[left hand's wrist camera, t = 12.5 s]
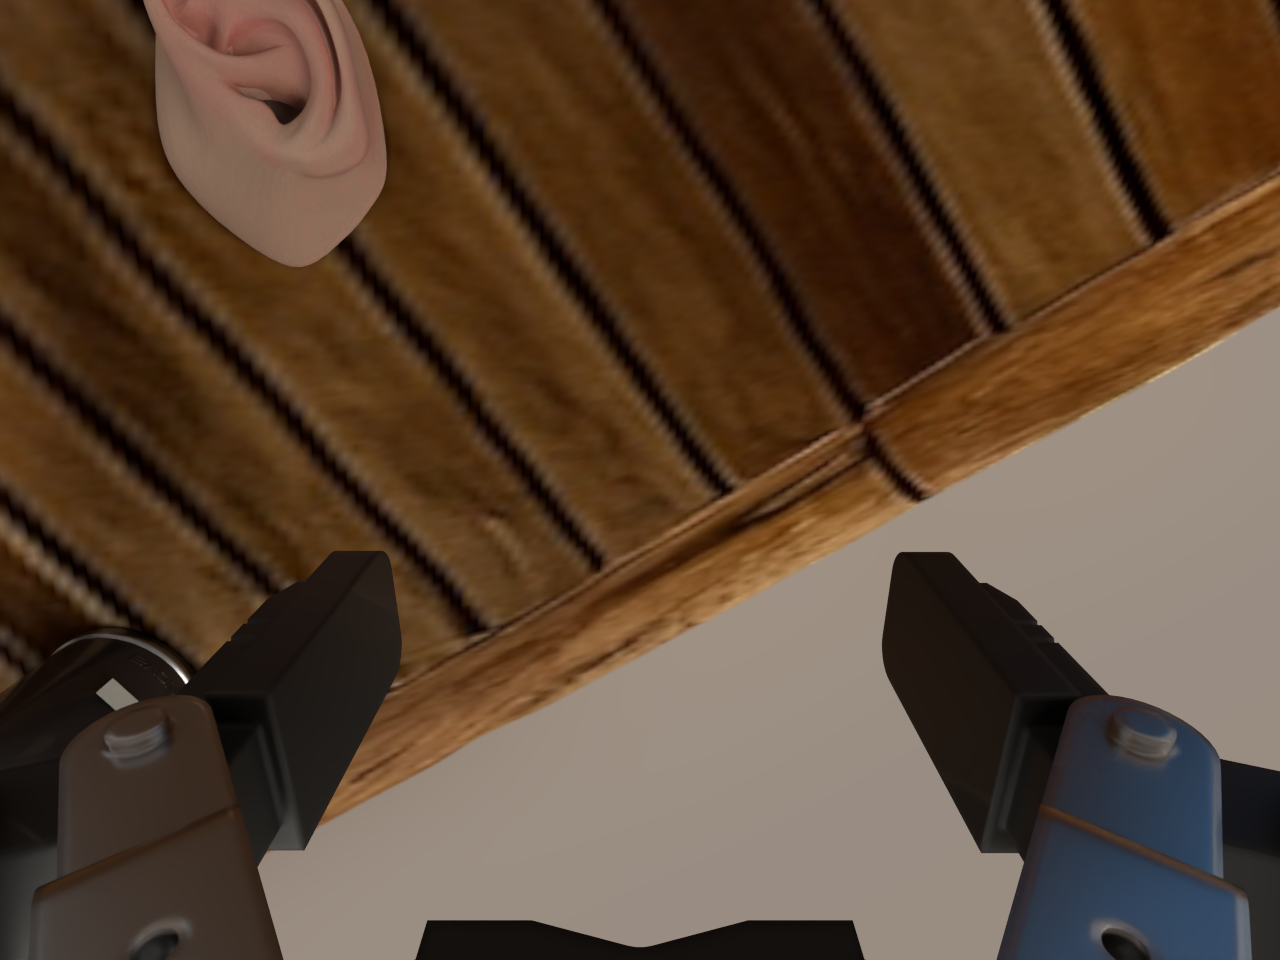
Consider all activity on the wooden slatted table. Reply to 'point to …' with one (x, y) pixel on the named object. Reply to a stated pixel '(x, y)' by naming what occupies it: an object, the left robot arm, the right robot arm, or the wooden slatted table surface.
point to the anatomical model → (270, 118)
